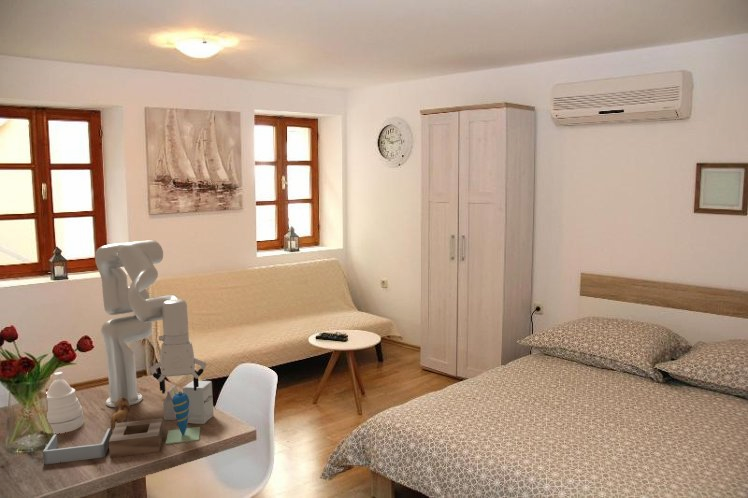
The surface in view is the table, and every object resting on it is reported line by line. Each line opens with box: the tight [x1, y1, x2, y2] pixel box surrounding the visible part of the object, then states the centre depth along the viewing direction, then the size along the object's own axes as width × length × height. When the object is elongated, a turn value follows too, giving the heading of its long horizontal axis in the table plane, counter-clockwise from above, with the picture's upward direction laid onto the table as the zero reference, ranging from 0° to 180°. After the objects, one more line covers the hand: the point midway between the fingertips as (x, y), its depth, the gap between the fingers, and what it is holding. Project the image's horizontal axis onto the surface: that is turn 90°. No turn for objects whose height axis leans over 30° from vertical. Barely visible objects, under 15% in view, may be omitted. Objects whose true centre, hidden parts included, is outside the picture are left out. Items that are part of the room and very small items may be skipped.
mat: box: [165, 426, 201, 445], centre depth 201 cm, size 10×10×1 cm
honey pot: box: [45, 371, 85, 435], centre depth 211 cm, size 13×13×18 cm
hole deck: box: [108, 417, 165, 458], centre depth 195 cm, size 14×14×5 cm
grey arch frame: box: [42, 427, 111, 465], centre depth 192 cm, size 12×17×4 cm
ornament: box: [172, 390, 189, 435], centre depth 200 cm, size 5×5×15 cm
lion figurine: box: [110, 397, 131, 435], centre depth 208 cm, size 15×5×9 cm, turn 13°
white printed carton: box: [163, 384, 180, 421], centre depth 217 cm, size 4×7×10 cm, turn 177°
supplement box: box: [182, 380, 214, 425], centre depth 213 cm, size 7×7×13 cm
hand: (179, 390), depth 200 cm, fingers open, 9 cm apart
